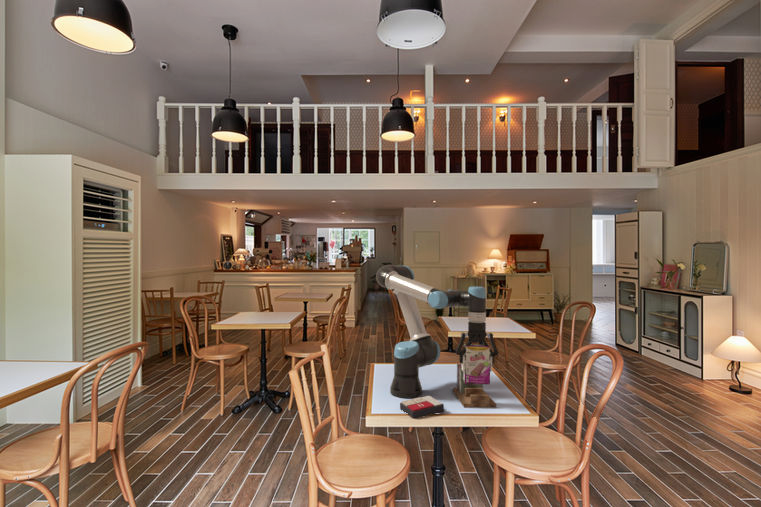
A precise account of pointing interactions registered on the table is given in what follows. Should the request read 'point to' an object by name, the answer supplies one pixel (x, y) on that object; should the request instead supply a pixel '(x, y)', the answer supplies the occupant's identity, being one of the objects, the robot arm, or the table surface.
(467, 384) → the book rack
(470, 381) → the candy bar box
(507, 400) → the table surface
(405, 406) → the black red box
